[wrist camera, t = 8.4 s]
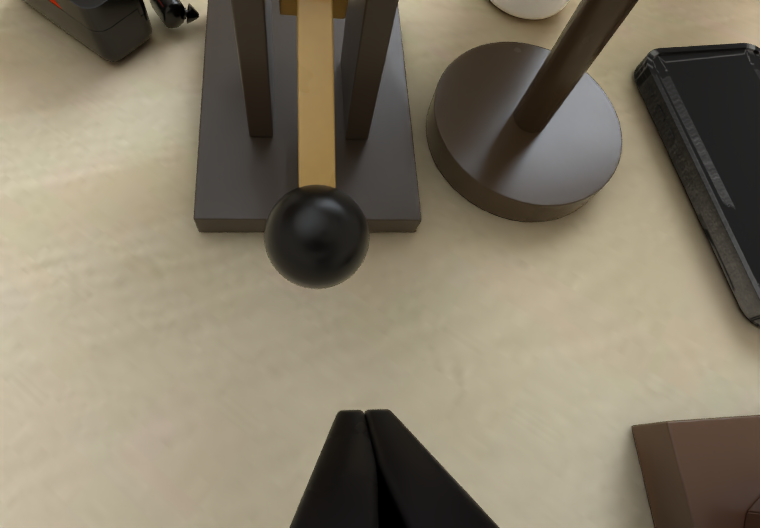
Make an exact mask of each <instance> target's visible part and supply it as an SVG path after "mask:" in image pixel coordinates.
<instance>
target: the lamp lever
mask: <svg viewBox="0 0 760 528" xmlns="http://www.w3.org/2000/svg"><path fill="white" fill-rule="evenodd" d="M347 6H348V0H279V7H280V14H281V15H293V16H297V92H298V185H299V187H298V188H296V189H294V190H291V191H290V192H288V193H287V194H285V195H284V196H283V197H281V198H280V199H279V200H278V201H277V203H276V204H275V205H274V206H273V208H272V209H271V211H270V213H269V215H268V218H267V221H266V224H265V230H264V243H265V248H266V252H267V255H268V257H269V259H270V261H271V263H272V265H273V266H274V267H275V269H276V270H277V271H278V272H279V273H280V274H281V275H282V276H283V277H284V278H286V279H287V280H289V281H290V282H292V283H294V284H296V285H299V286H302V287H305V288H311V289H322V288H328V287H332V286H335V285H338V284H340V283H342V282H344V281H345V280H347V279H348V278H350V277H351V276H352V275H353V274H354V273H355V272H356V271H357V270H358V268H359V267H360V266H361V264H362V262H363V261H364V258H365V256H366V253H367V250H368V246H369V228H368V223H367V220H366V217H365V215H364V213H363V211H362V210H361V208H360V207H359V205H358V204H357V203H356V202H355V200H354V199H352V198H351V197H350V196H349V195H348V194H346V193H345V192H343V191H341V190H339V189H337V188H336V179H335V112H334V46H333V18H336V19H345V17H346V11H347Z"/></svg>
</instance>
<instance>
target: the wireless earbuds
mask: <svg viewBox="0 0 760 528" xmlns="http://www.w3.org/2000/svg"><path fill="white" fill-rule="evenodd" d="M23 1H25V2H26V3H27V4H29V5H30V6H32V7H33V8H34V9H36V10H37V11H38V12H40V13H41V14H43V15H44V16H45V17H47V18H48V19H49V20H51V21H52V22H54V23H55V24H56V25H58V26H59V27H60V28H62V29H63V30H65V31H66V32H67V33H69V34H70V35H71V36H73V37H74V38H76V39H77V40H78V41H80V42H81V43H82V44H84V45H85V46H87V47H88V48H89V49H91V50H92V51H93V52H95V53H96V54H98V55H99V56H100V57H102V58H103V59H105V60H107V61H112V62H115V61H119V60H121V59H122V58H124V57H125V56H126V55H128V54H129V53H130V52H132V51H133V50H135V49H136V48H137V47H139V46H140V45H141V44H143V43H144V42H145V41H147V40H148V39H149V37H150V35H151V33H152V28H151V24H150V20H149V17H148V14H147V11H146V8H145V5H144V2H143V0H23ZM150 3H151V5H152V7H153V9H154V10H155V12H156V13H157V15H158V16H159V17H160V19H161V20H162V22H163V23H164V24H165V26H166V27H168V28H177V27H179V26H180V25H181V24H182V23H183V22H184V20H185V19H186V17H187V24H188V23H190V22H192V21H194V20H196V19H197V18H198V17H199V14H198V12H197V11H196V10H195V9H194V8H193V7H192V6H191V5H190V4H188V10H186V8H184V6H183V4H182V3H181V2H180V0H150Z"/></svg>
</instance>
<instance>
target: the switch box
mask: <svg viewBox="0 0 760 528" xmlns="http://www.w3.org/2000/svg"><path fill="white" fill-rule="evenodd" d="M632 431H633V435H634V439H635V443H636V448H637V452H638V456H639V461H640V465H641V469H642V473H643V478H644V482H645V486H646V491H647V495H648V499H649V504H650V508H651V512H652V516H653V521H654V525H655V528H760V415H751V416H736V417H722V418H707V419H692V420H677V421H665V422H657V423H649V424H641V425H633V426H632Z"/></svg>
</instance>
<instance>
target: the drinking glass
mask: <svg viewBox="0 0 760 528" xmlns="http://www.w3.org/2000/svg"><path fill="white" fill-rule="evenodd" d="M490 1H491V2H492V3H493V4H494V5H495V6H497V7H498V8H499V9H501V10H502V11H504V12H506V13H508V14H510V15H513V16H515V17H519V18H523V19H532V20H535V19H543V18H547V17H550V16H553V15H555V14H556V13H558V12H559V11H561V10H562V9H563V8H564V7H565V6H566V4H567V3H568V2H569V0H490Z"/></svg>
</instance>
